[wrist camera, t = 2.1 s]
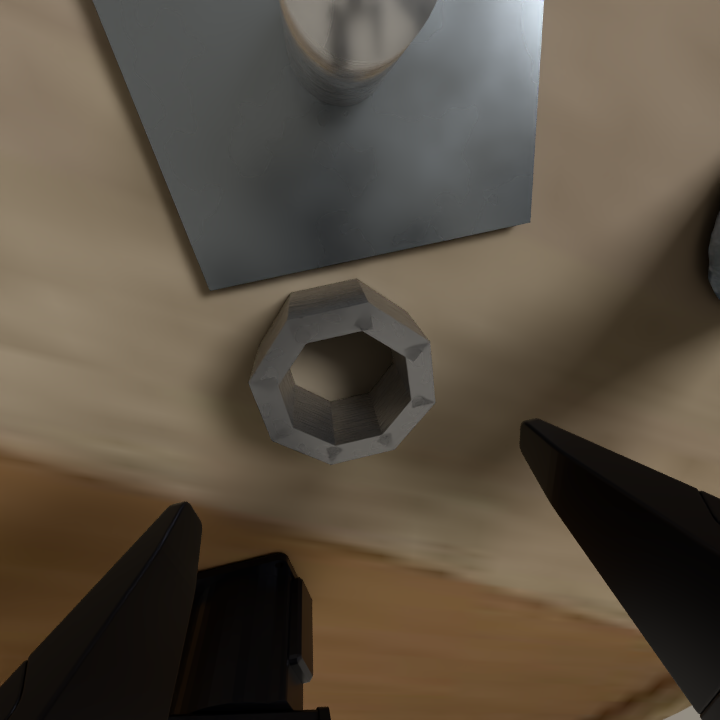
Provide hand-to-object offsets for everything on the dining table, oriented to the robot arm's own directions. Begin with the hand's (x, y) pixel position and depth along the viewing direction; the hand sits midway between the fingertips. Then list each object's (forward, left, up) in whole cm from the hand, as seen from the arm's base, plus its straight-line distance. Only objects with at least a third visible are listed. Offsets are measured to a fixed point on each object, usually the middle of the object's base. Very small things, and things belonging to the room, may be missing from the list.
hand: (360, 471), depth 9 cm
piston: (+2, +10, -7) cm, 12 cm away
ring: (0, 0, -7) cm, 7 cm away
